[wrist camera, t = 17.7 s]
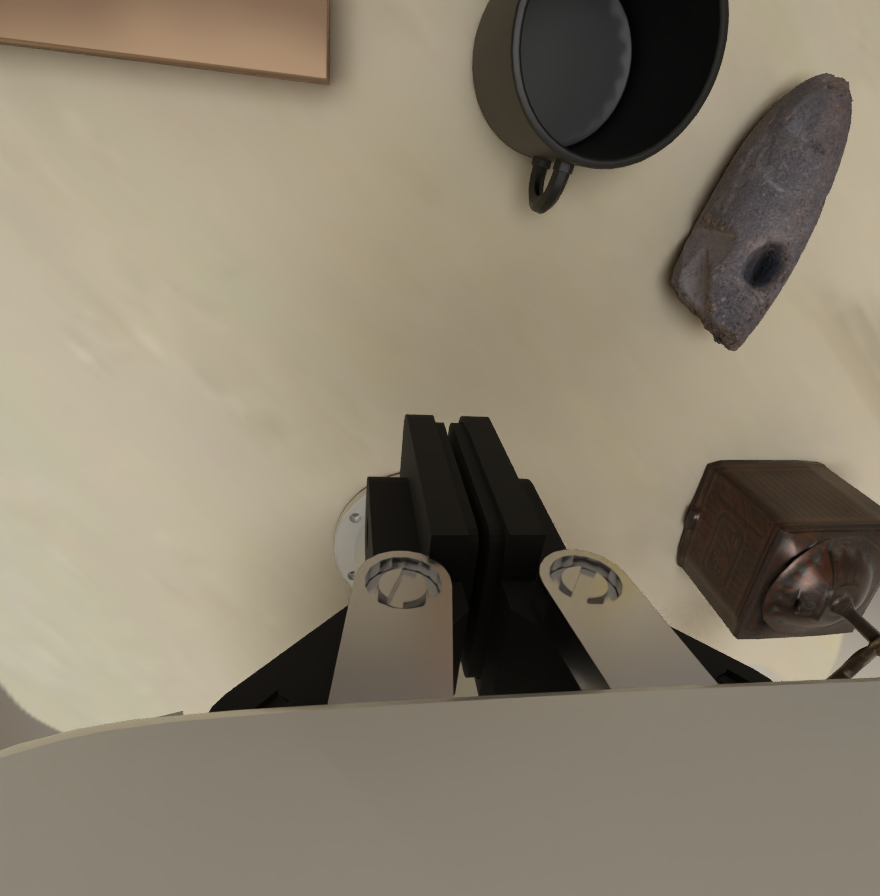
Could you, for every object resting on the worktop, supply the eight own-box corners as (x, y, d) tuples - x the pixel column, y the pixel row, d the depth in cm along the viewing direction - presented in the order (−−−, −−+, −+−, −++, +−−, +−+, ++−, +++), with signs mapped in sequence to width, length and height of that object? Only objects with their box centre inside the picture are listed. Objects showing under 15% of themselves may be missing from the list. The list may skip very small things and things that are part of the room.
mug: (439, 181, 34) (467, 198, 26) (500, -76, 29) (557, -150, 21) (584, 222, 37) (649, 248, 29) (665, -10, 31) (772, -55, 23)
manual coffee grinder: (700, 459, 47) (877, 626, 31) (822, 459, 48) (1048, 618, 33) (651, 605, 54) (774, 800, 38) (759, 601, 56) (919, 786, 40)
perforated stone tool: (763, 59, 34) (854, 44, 28) (830, 97, 35) (930, 92, 29) (634, 304, 40) (686, 337, 34) (696, 329, 41) (756, 364, 35)
